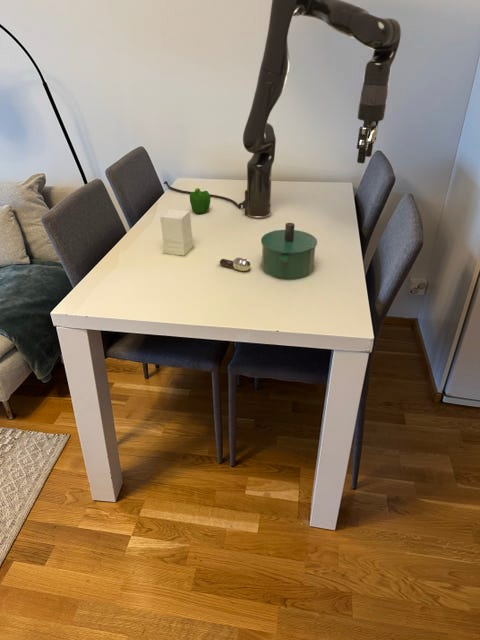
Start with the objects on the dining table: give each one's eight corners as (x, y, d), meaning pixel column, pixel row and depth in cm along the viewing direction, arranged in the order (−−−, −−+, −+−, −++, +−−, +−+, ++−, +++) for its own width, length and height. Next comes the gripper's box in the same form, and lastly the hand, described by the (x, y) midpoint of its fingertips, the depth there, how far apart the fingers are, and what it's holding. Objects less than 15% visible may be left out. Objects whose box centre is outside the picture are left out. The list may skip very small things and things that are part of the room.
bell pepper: (201, 207, 184) (200, 182, 178) (214, 211, 179) (214, 186, 173) (185, 212, 179) (183, 187, 173) (198, 217, 174) (197, 191, 168)
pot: (256, 280, 131) (256, 254, 126) (268, 251, 148) (269, 226, 143) (309, 286, 128) (312, 259, 123) (315, 255, 145) (318, 230, 140)
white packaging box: (193, 247, 151) (191, 210, 144) (184, 256, 145) (181, 218, 138) (173, 244, 153) (170, 208, 146) (163, 253, 147) (159, 216, 140)
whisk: (217, 267, 138) (216, 256, 136) (223, 262, 141) (223, 251, 139) (246, 274, 134) (246, 263, 132) (252, 269, 137) (252, 258, 135)
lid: (256, 252, 128) (256, 232, 125) (266, 230, 142) (266, 212, 138) (314, 258, 125) (316, 237, 122) (319, 235, 139) (321, 216, 135)
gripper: (365, 97, 135) (358, 153, 145) (353, 104, 125) (345, 163, 134) (391, 99, 133) (381, 155, 142) (380, 106, 122) (371, 166, 131)
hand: (364, 159), depth 138 cm, fingers open, 8 cm apart
